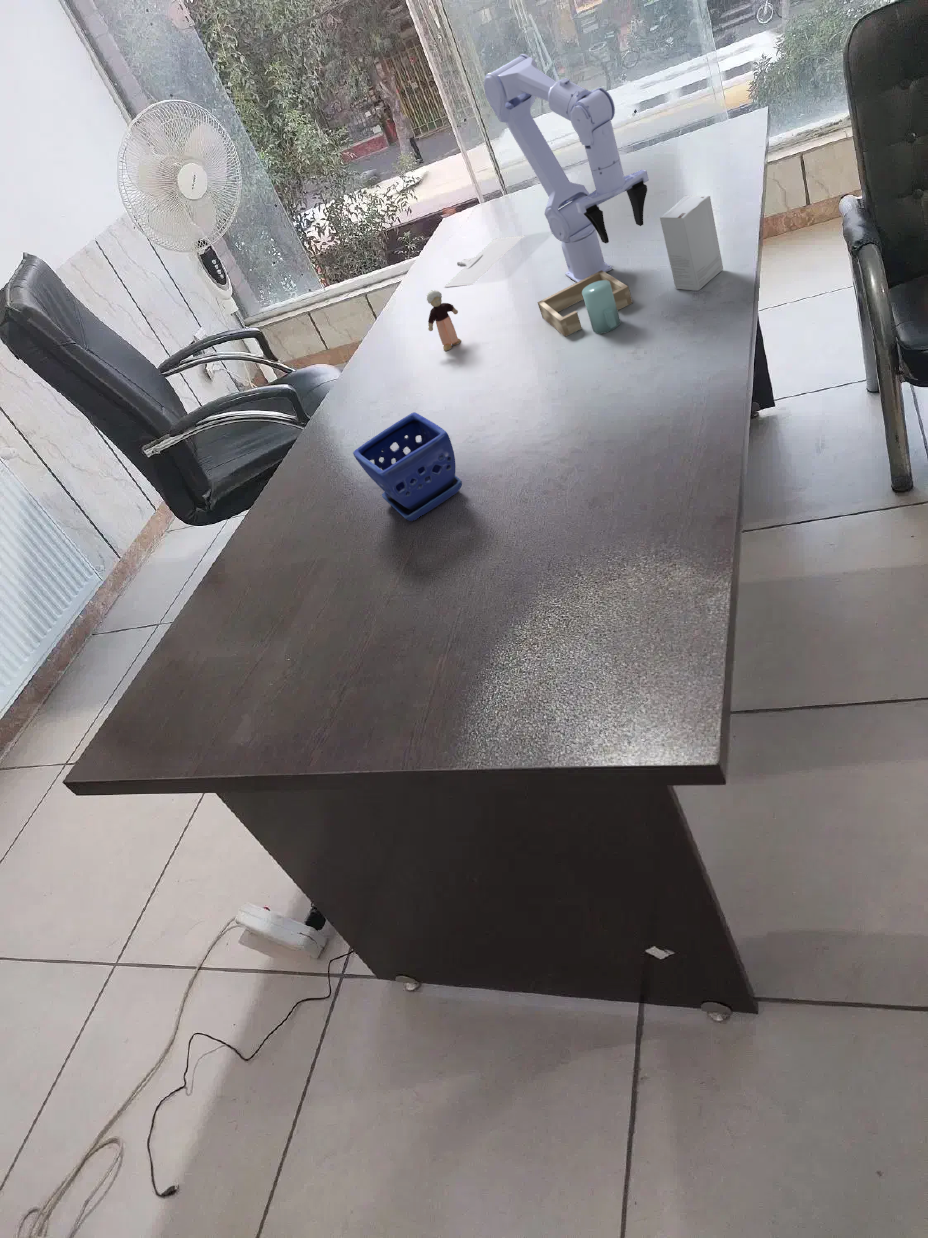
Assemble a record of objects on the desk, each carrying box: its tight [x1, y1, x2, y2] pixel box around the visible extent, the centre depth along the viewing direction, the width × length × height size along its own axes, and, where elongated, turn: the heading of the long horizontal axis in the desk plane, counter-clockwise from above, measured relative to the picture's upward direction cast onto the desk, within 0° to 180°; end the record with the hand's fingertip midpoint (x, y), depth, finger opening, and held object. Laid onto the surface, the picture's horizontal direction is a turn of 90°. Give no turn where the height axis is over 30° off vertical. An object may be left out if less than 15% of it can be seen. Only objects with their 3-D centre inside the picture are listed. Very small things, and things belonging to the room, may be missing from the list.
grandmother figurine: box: [426, 289, 462, 352], centre depth 187 cm, size 8×4×13 cm, turn 131°
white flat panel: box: [444, 235, 526, 288], centre depth 220 cm, size 25×24×1 cm
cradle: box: [537, 270, 633, 338], centre depth 177 cm, size 14×15×4 cm
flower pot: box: [352, 412, 463, 522], centre depth 144 cm, size 13×13×12 cm
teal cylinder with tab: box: [582, 280, 621, 334], centre depth 166 cm, size 6×8×8 cm
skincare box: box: [659, 195, 724, 292], centre depth 164 cm, size 8×6×15 cm
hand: (622, 232), depth 173 cm, fingers open, 7 cm apart
